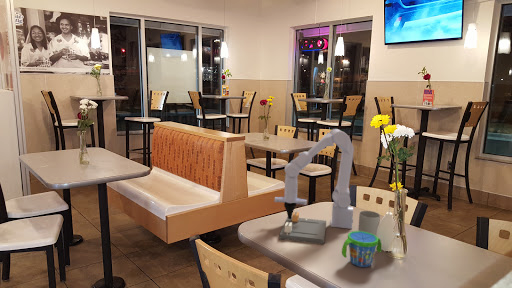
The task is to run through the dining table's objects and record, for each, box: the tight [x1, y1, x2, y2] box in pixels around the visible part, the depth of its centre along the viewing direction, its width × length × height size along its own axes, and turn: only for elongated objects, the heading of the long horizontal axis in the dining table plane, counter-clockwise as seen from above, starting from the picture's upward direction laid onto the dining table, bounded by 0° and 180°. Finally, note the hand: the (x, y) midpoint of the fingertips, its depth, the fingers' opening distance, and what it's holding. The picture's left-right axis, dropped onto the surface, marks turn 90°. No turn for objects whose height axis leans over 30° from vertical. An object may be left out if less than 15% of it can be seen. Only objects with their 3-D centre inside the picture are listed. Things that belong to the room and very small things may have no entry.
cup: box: [357, 210, 381, 236], centre depth 152 cm, size 8×8×10 cm
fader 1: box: [285, 222, 292, 233], centre depth 151 cm, size 2×4×3 cm, turn 166°
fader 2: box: [292, 211, 300, 222], centre depth 163 cm, size 2×4×3 cm, turn 166°
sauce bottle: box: [377, 206, 396, 252], centre depth 139 cm, size 8×8×18 cm
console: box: [279, 216, 327, 245], centre depth 157 cm, size 18×21×2 cm
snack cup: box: [341, 230, 383, 268], centre depth 129 cm, size 16×10×10 cm
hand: (289, 218), depth 164 cm, fingers closed
